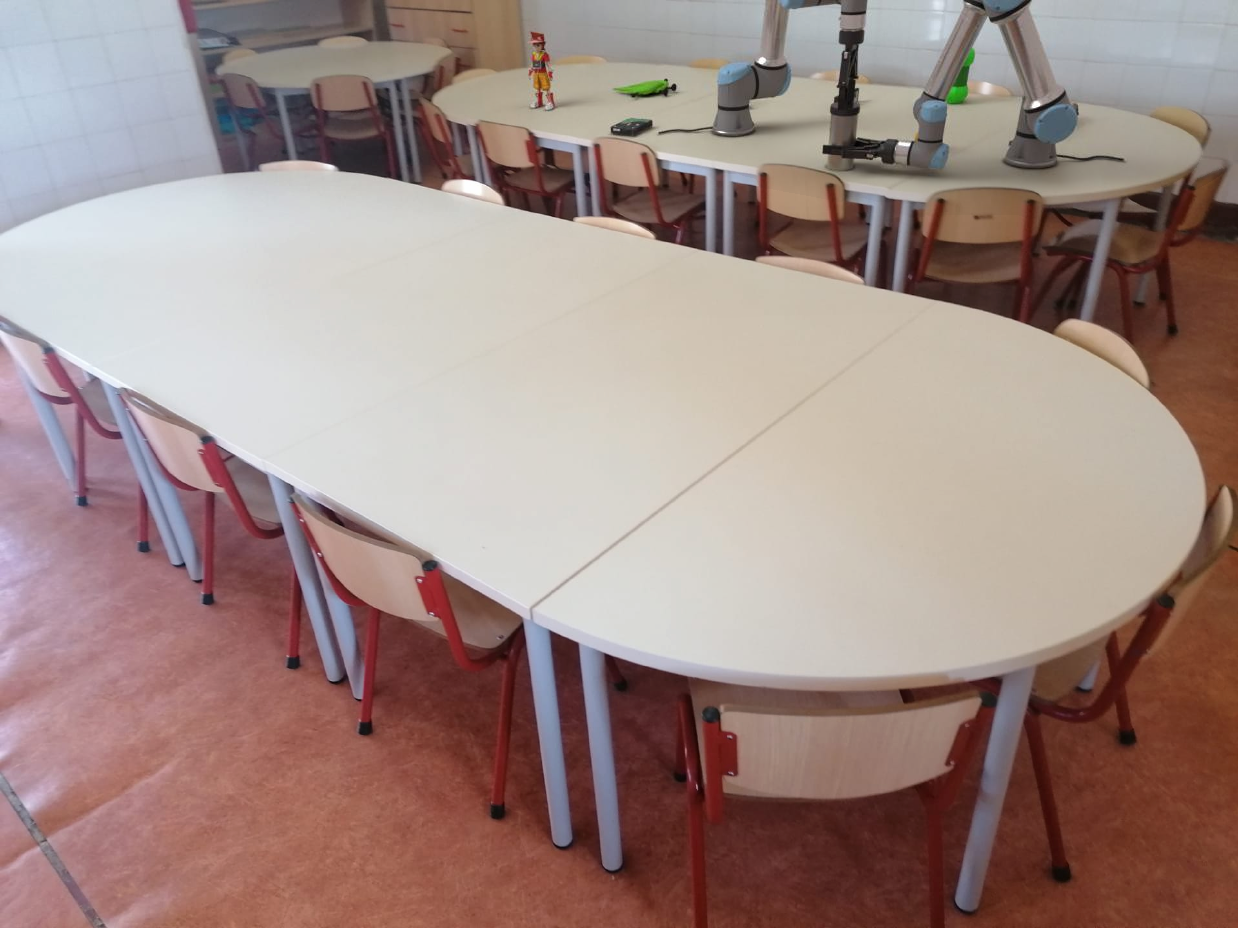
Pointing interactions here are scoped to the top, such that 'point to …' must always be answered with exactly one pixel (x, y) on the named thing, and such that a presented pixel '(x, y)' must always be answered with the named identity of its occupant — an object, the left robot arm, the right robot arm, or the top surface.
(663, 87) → the toy
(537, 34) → the toy
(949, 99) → the plastic bottle
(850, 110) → the lid
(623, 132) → the disk drive
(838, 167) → the jar
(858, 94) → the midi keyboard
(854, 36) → the left robot arm
